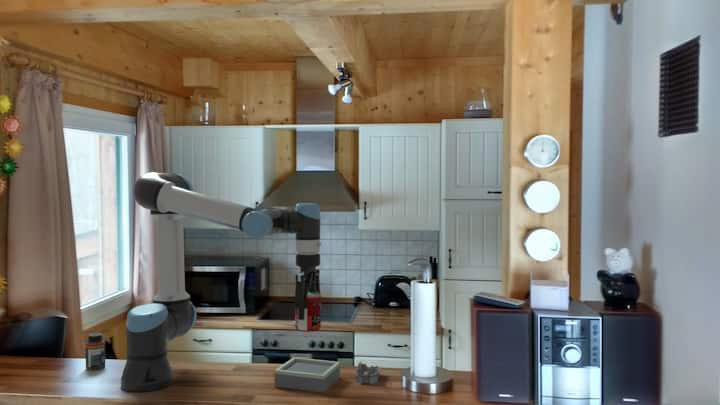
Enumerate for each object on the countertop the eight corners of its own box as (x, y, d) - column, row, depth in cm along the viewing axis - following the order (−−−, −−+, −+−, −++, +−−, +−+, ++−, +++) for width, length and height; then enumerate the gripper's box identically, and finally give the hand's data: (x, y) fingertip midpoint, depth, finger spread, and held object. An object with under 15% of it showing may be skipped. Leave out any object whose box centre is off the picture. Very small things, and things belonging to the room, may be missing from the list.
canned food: (317, 332, 171) (317, 296, 171) (291, 331, 173) (291, 295, 173) (323, 326, 179) (323, 291, 178) (299, 325, 180) (299, 290, 180)
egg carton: (359, 373, 186) (359, 360, 186) (382, 374, 185) (382, 362, 185) (352, 384, 176) (352, 370, 176) (376, 385, 174) (376, 372, 174)
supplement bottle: (87, 366, 191) (87, 332, 190) (107, 364, 192) (106, 331, 192) (83, 371, 185) (83, 337, 185) (103, 370, 186) (103, 336, 186)
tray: (274, 386, 172) (274, 370, 172) (293, 372, 185) (293, 357, 185) (323, 392, 167) (324, 375, 167) (339, 377, 181) (339, 362, 180)
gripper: (306, 257, 164) (306, 335, 165) (331, 250, 184) (330, 320, 184) (282, 256, 167) (282, 333, 167) (309, 249, 186) (309, 318, 187)
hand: (307, 326), depth 176 cm, fingers closed on canned food, 8 cm apart
